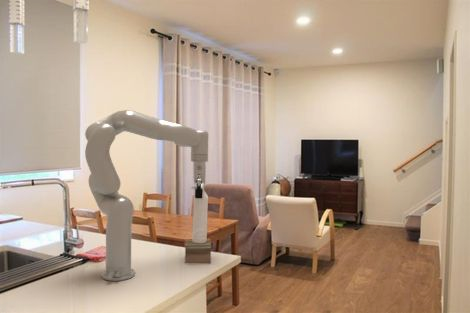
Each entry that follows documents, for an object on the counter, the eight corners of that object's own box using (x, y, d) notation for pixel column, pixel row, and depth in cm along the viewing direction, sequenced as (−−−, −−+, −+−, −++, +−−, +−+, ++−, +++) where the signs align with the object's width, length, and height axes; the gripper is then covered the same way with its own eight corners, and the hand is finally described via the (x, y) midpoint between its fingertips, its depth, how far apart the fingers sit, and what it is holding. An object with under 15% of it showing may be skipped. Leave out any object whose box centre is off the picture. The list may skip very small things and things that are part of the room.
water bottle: (199, 239, 176) (201, 185, 175) (209, 242, 172) (211, 186, 171) (185, 242, 170) (187, 186, 169) (194, 245, 166) (196, 187, 165)
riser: (210, 263, 167) (211, 245, 167) (184, 263, 166) (185, 245, 165) (209, 255, 178) (210, 238, 178) (185, 256, 177) (185, 238, 177)
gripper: (208, 159, 162) (207, 199, 162) (207, 157, 179) (206, 194, 180) (190, 159, 161) (189, 199, 162) (191, 157, 178) (190, 193, 179)
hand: (198, 196), depth 171 cm, fingers open, 9 cm apart
